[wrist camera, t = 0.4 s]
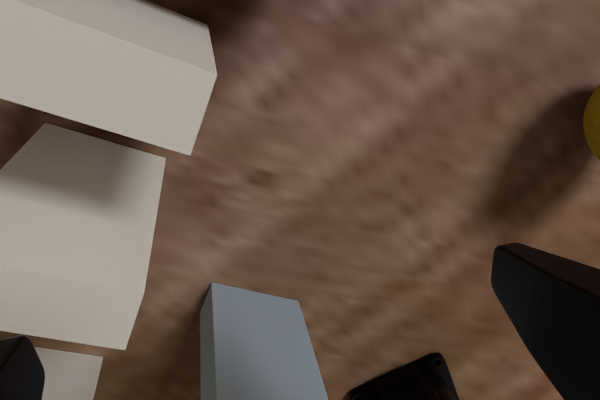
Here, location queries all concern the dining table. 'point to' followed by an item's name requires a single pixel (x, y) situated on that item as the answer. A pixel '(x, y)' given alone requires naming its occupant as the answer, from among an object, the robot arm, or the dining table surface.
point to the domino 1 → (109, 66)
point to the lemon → (593, 122)
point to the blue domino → (255, 348)
